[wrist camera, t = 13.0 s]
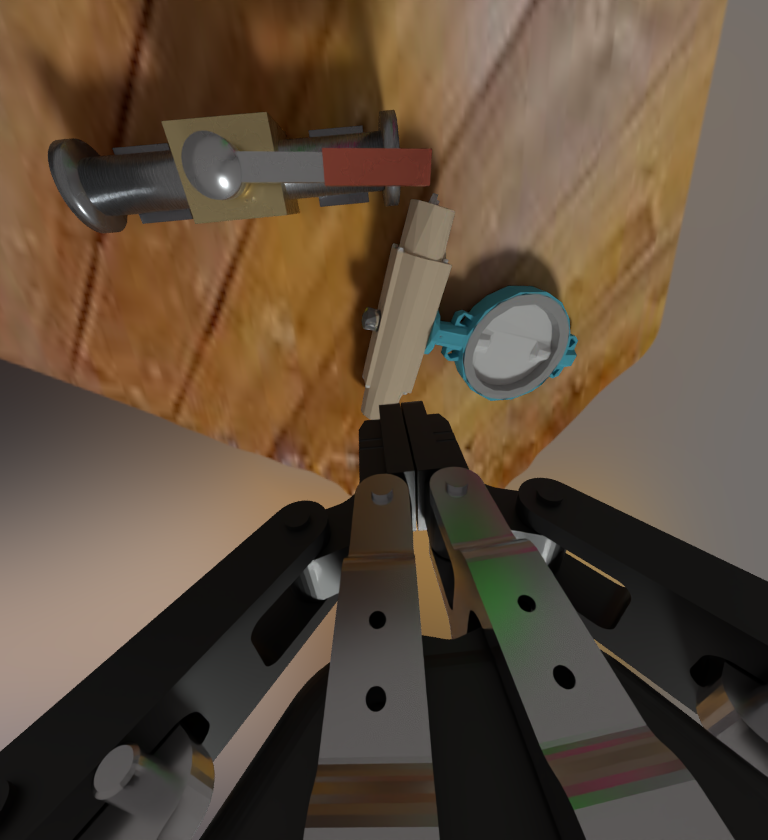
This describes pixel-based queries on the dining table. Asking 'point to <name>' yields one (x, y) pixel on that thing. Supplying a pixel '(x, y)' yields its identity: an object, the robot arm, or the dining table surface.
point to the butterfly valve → (457, 323)
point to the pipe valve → (176, 197)
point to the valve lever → (297, 166)
